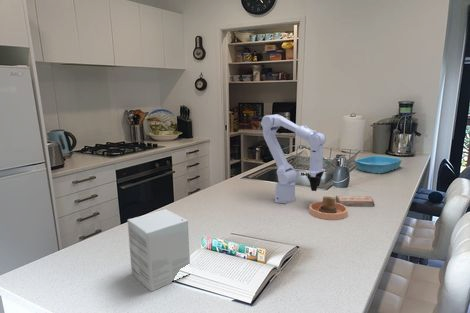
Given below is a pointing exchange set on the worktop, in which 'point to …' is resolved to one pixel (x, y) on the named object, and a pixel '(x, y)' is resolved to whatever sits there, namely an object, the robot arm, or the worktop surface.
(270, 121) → the robot arm
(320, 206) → the hinged hatch frame
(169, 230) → the supplement box
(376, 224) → the worktop surface
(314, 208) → the orange round shallow bowl
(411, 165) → the worktop surface
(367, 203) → the packaged product
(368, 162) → the casserole dish
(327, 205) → the wood hatch door
